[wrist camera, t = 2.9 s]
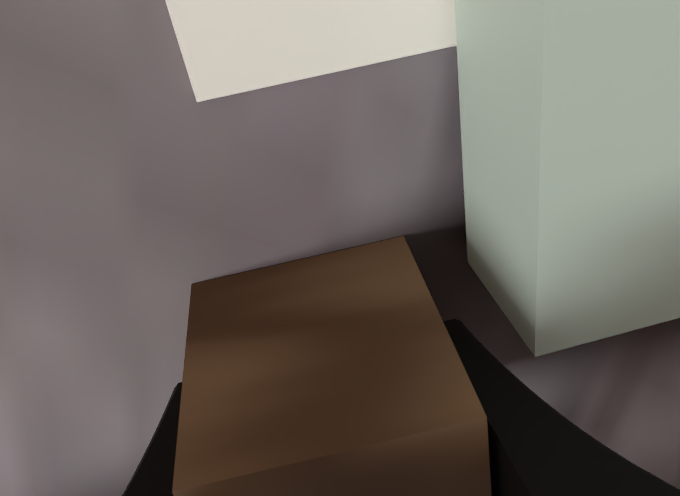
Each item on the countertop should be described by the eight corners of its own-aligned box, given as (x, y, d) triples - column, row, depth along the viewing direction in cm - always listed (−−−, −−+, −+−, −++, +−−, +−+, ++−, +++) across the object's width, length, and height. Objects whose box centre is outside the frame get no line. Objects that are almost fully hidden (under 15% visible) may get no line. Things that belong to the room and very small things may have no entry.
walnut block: (246, 428, 15) (252, 644, 11) (191, 283, 13) (172, 491, 9) (424, 386, 15) (496, 584, 11) (403, 236, 13) (486, 416, 9)
